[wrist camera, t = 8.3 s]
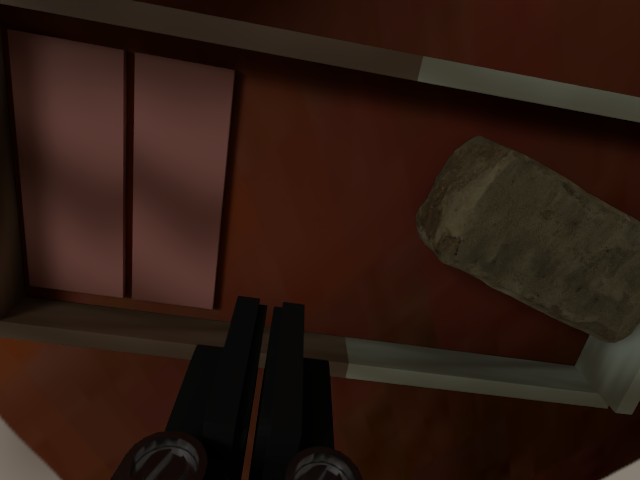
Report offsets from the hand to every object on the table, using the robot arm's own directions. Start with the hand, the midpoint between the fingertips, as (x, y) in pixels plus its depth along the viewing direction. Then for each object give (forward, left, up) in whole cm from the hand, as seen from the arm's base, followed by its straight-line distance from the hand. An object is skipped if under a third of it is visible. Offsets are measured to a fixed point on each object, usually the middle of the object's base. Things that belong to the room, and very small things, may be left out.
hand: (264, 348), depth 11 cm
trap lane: (+1, +3, -13) cm, 13 cm away
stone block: (-1, +13, -14) cm, 19 cm away
